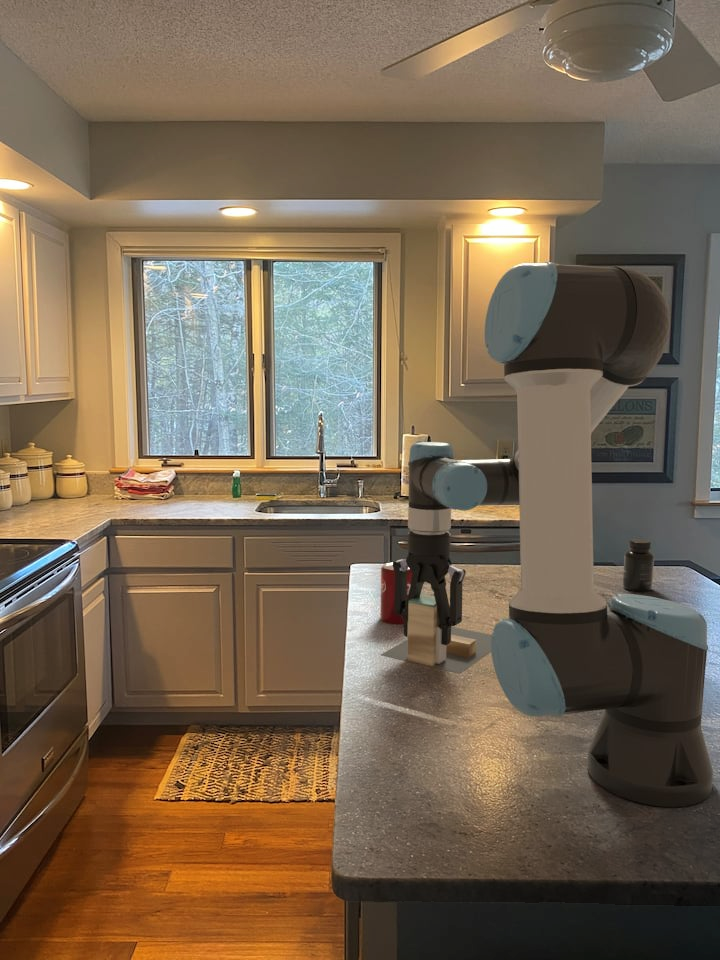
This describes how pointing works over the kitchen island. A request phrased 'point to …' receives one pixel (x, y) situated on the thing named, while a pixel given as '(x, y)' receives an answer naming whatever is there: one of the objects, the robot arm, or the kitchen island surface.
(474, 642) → the bar
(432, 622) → the block
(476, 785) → the kitchen island surface
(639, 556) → the supplement bottle
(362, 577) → the kitchen island surface
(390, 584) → the soda can
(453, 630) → the mat
